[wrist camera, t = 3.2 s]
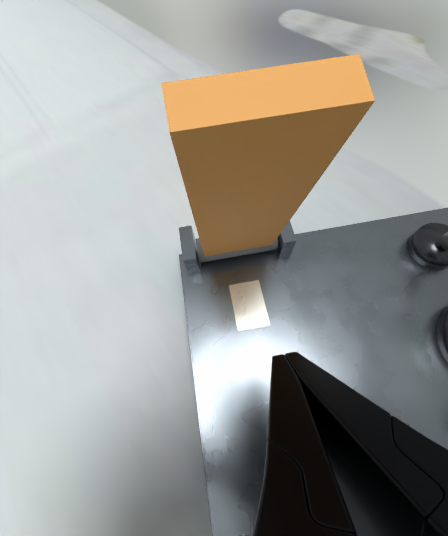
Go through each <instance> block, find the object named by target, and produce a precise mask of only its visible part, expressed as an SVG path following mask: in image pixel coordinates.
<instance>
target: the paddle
mask: <svg viewBox="0 0 448 536" xmlns="http://www.w3.org/2000/svg"><path fill="white" fill-rule="evenodd" d="M162 88H163V94H164V100H165V107H166V113H167V119H168V125H169V131H170V135H171V139H172V142H173V146H174V149H175V153H176V156H177V160H178V164H179V167H180V171H181V174H182V178H183V181H184V185H185V188H186V192H187V195H188V199H189V203H190V206H191V210H192V213H193V217H194V220H195V224H196V227H197V231H198V235H199V238H198V239H196V247H197V253H198V258H199V262H200V263H202V262H208V261H213V260H219V259H225V258H230V257H236V256H242V255H247V254H253V253H259V252H264V251H270V250H275V249H277V248H278V236H279V235H280V233H281V232H282V230H283V229H284V228H285V226H286V225H287V223H288V222H289V220H290V219H291V218H292V216H293V215H294V213H295V212H296V211H297V209H298V208H299V206H300V205H301V204H302V202H303V201H304V199H305V198H306V197H307V195H308V194H309V192H310V191H311V190H312V188H313V187H314V185H315V184H316V183H317V181H318V180H319V178H320V177H321V176H322V174H323V173H324V171H325V170H326V169H327V167H328V166H329V164H330V163H331V162H332V160H333V159H334V157H335V156H336V155H337V153H338V152H339V150H340V149H341V147H342V146H343V145H344V143H345V142H346V140H347V139H348V138H349V136H350V135H351V133H352V132H353V131H354V129H355V128H356V126H357V125H358V124H359V122H360V121H361V119H362V118H363V116H364V115H365V114H366V112H367V111H368V110H369V108H370V107H371V105H372V104H373V103H374V101H375V99H374V96H373V93H372V90H371V87H370V84H369V81H368V78H367V75H366V72H365V69H364V66H363V63H362V60H361V57H360V54H357V55H350V56H343V57H336V58H329V59H323V60H316V61H309V62H302V63H296V64H290V65H282V66H275V67H268V68H261V69H255V70H248V71H241V72H234V73H227V74H220V75H214V76H207V77H200V78H193V79H186V80H180V81H173V82H166V83H162Z"/></svg>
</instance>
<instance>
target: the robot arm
mask: <svg viewBox="0 0 448 536" xmlns="http://www.w3.org/2000/svg"><path fill="white" fill-rule="evenodd" d="M253 536H448V449H446V448H444V447H443V446H441V445H439V444H438V443H436V442H434V441H432V440H431V439H429V438H427V437H426V436H424V435H423V434H421V433H420V432H418V431H416V430H415V429H413V428H412V427H410V426H408V425H407V424H405V423H404V422H402V421H401V420H399V419H398V418H396V417H395V416H391V414H390V413H389V412H387V411H386V410H384V409H383V408H381V407H379V406H378V405H376V404H375V403H373V402H372V401H370V400H369V399H367V398H366V397H364V396H363V395H361V394H360V393H358V392H357V391H355V390H354V389H352V388H351V387H349V386H348V385H346V384H345V383H343V382H342V381H340V380H339V379H337V378H336V377H334V376H333V375H331V374H330V373H328V372H327V371H325V370H324V369H322V368H321V367H319V366H318V365H316V364H314V363H313V362H311V361H310V360H308V359H307V358H305V357H304V356H302V355H301V354H299V353H298V352H290V353H286V354H285V355H283V354H280V355H275V356H272V364H271V381H270V397H269V414H268V430H267V444H266V459H265V469H264V478H263V484H262V490H261V496H260V501H259V507H258V512H257V517H256V522H255V527H254V532H253Z"/></svg>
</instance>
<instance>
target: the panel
mask: <svg viewBox="0 0 448 536" xmlns="http://www.w3.org/2000/svg"><path fill="white" fill-rule="evenodd" d="M179 232H180V240H181V248H182V254H181V255H179V259H180V268H181V276H182V284H183V293H184V301H185V310H186V318H187V326H188V335H189V343H190V352H191V360H192V368H193V377H194V385H195V393H196V402H197V410H198V419H199V427H200V435H201V444H202V452H203V461H204V469H205V477H206V486H207V494H208V502H209V511H210V519H211V528H212V536H253V532H254V527H255V522H256V517H257V512H258V507H259V501H260V496H261V490H262V484H263V478H264V469H265V459H266V444H267V430H268V414H269V397H270V381H271V364H272V356H275V355H280V354H283V355H285V354H286V353H290V352H298V353H299V354H301V355H302V356H304V357H305V358H307V359H308V360H310V361H311V362H313V363H314V364H316V365H318V366H319V367H321V368H322V369H324V370H325V371H327V372H328V373H330V374H331V375H333V376H334V377H336V378H337V379H339V380H340V381H342V382H343V383H345V384H346V385H348V386H349V387H351V388H352V389H354V390H355V391H357V392H358V393H360V394H361V395H363V396H364V397H366V398H367V399H369V400H370V401H372V402H373V403H375V404H376V405H378V406H379V407H381V408H383V409H384V410H386V411H387V412H389V413H390V414H391V416H395V417H396V418H398V419H399V420H401V421H402V422H404V423H405V424H407V425H408V426H410V427H412V428H413V429H415V430H416V431H418V432H420V433H421V434H423V435H424V436H426V437H427V438H429V439H431V440H432V441H434V442H436V443H438V444H439V445H441V446H443V447H444V448H446V449H448V251H446V250H444V249H443V248H442V246H441V238H442V236H443V235H444V234H445V233H447V232H448V208H443V209H438V210H432V211H426V212H421V213H415V214H409V215H404V216H398V217H392V218H386V219H381V220H375V221H369V222H364V223H358V224H352V225H346V226H341V227H335V228H329V229H324V230H318V231H312V232H306V233H301V234H295V235H294V232H293V229H292V226H291V223H290V221H289V222H288V223H287V225H286V226H285V228H284V229H283V230H282V232H281V233H280V235H279V236H278V248H277V249H275V250H270V251H264V252H259V253H253V254H247V255H242V256H236V257H230V258H225V259H219V260H213V261H208V262H202V263H200V262H199V258H198V253H197V247H196V242H195V238H194V234H193V230H192V226H186V227H180V228H179Z"/></svg>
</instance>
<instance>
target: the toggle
mask: <svg viewBox="0 0 448 536" xmlns="http://www.w3.org/2000/svg"><path fill="white" fill-rule="evenodd" d="M441 246H442V248H443V249H444V250H446V251H448V232H447V233H445V234H444V235H443V236H442V238H441Z"/></svg>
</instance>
